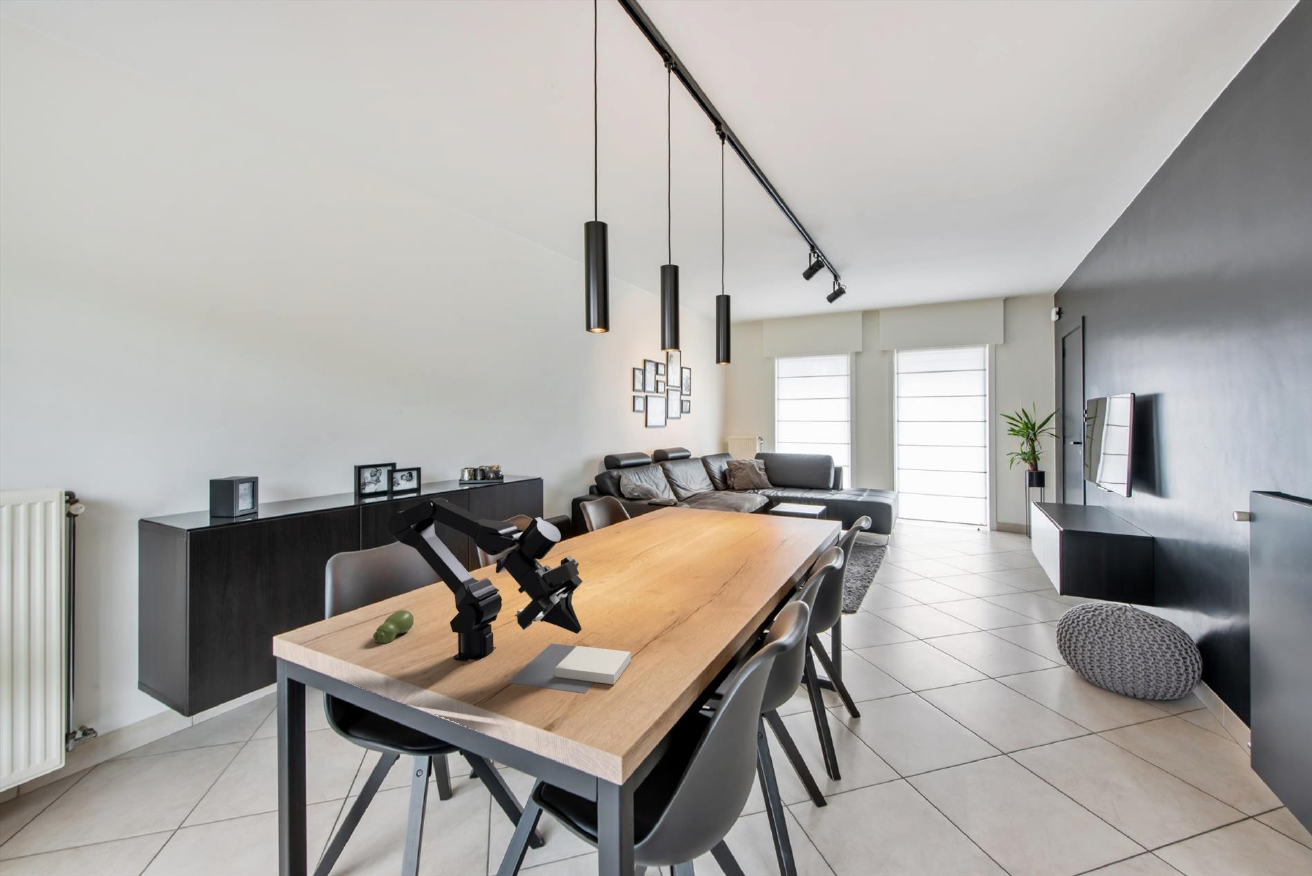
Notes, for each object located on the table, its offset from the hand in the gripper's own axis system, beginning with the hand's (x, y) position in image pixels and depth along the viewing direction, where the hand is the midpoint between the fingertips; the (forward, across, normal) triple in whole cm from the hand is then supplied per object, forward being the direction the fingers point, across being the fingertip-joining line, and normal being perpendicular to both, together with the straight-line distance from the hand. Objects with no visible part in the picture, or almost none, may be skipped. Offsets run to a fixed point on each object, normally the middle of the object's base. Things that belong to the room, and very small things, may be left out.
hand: (579, 631), depth 100 cm
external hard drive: (-10, +29, +22) cm, 38 cm away
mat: (+3, 0, +8) cm, 8 cm away
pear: (-30, +5, +41) cm, 51 cm away
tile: (+2, 0, +6) cm, 7 cm away
